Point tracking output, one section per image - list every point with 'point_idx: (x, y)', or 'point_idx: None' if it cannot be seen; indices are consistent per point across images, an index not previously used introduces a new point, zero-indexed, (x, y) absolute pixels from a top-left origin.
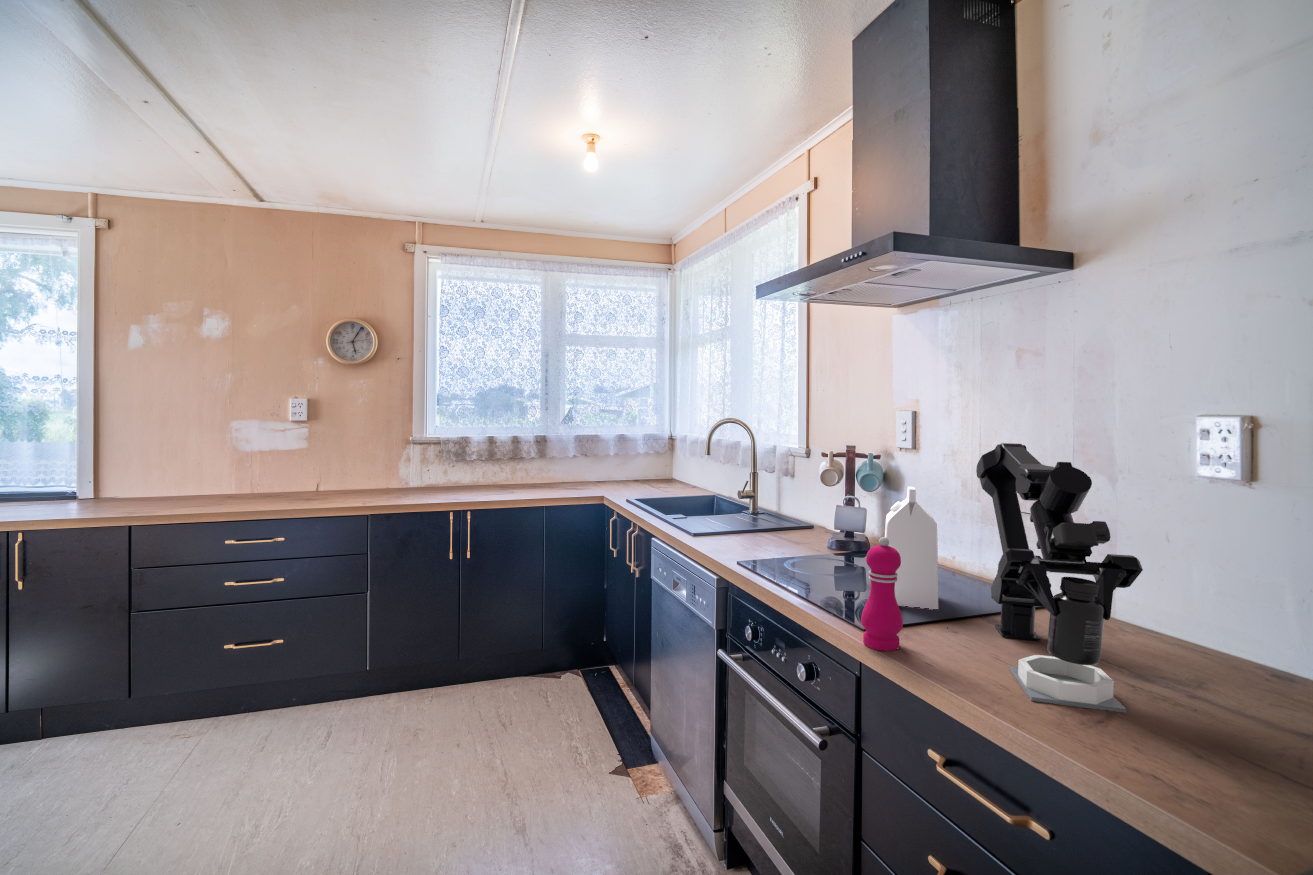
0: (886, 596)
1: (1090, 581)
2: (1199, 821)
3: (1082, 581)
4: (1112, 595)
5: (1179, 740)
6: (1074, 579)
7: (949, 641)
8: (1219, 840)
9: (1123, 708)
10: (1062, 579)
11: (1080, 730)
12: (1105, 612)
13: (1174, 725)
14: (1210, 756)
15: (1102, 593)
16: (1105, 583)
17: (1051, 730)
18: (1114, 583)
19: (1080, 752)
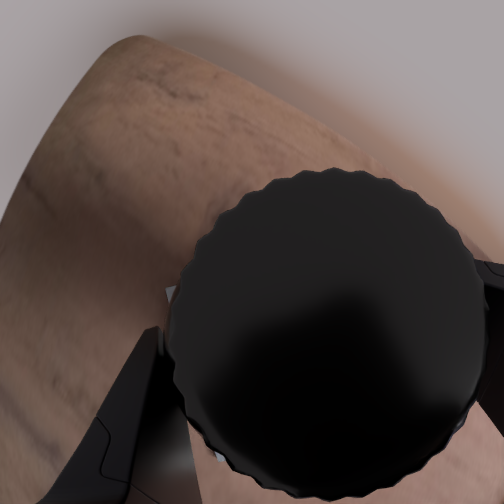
0: None
1: (251, 402)
2: (159, 51)
3: (335, 305)
4: (94, 419)
5: (107, 216)
6: (407, 342)
7: (477, 465)
8: (154, 39)
9: (170, 287)
10: (476, 275)
11: (249, 165)
12: (162, 349)
13: (97, 279)
14: (84, 185)
15: (156, 447)
16: (111, 487)
17: (289, 144)
18: (48, 497)
19: (251, 104)
